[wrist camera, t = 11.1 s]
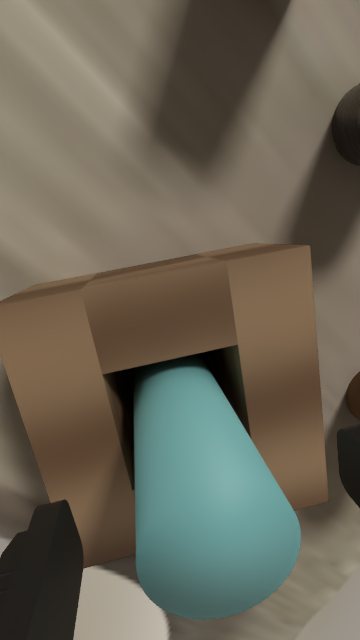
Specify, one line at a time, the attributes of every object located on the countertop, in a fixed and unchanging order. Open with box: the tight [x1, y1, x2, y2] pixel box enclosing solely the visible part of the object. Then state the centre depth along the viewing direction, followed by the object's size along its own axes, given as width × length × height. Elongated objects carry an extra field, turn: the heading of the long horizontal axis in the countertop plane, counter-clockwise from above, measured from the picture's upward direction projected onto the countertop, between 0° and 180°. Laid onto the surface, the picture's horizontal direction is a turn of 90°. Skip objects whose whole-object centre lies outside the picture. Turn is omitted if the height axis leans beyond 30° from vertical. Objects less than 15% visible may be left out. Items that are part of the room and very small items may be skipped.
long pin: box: [133, 353, 301, 620], centre depth 14 cm, size 4×4×12 cm
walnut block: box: [0, 243, 329, 569], centre depth 16 cm, size 12×12×6 cm
